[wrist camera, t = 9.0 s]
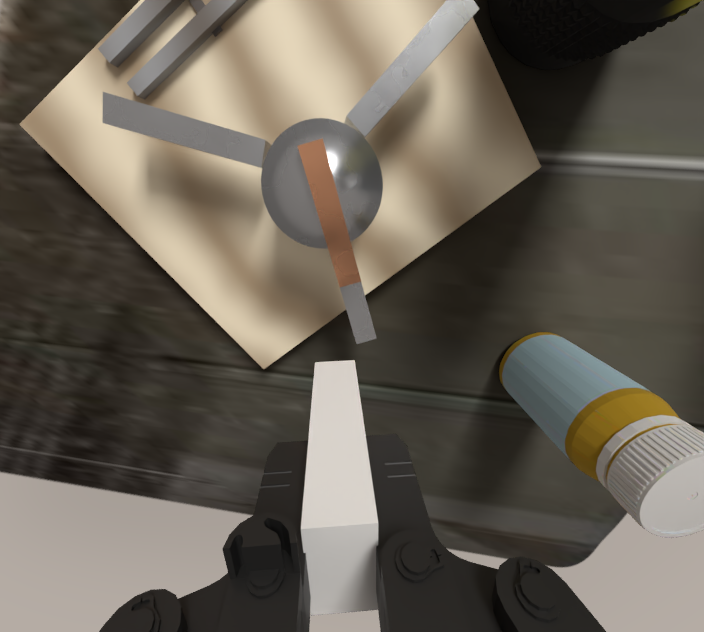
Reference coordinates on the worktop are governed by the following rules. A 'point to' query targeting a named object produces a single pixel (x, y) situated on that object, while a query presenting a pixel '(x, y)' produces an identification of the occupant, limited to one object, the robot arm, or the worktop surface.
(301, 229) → the capstan
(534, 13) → the container
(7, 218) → the worktop surface
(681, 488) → the bottle
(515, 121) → the stand
